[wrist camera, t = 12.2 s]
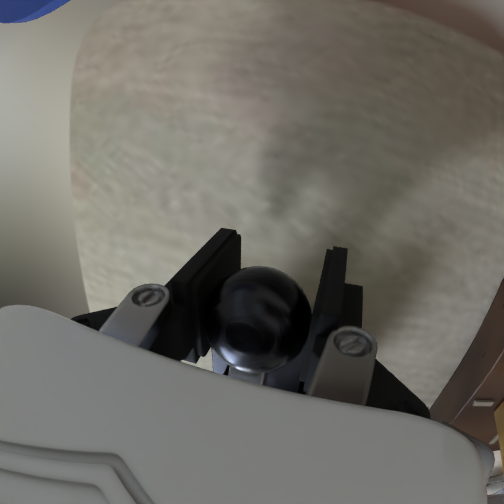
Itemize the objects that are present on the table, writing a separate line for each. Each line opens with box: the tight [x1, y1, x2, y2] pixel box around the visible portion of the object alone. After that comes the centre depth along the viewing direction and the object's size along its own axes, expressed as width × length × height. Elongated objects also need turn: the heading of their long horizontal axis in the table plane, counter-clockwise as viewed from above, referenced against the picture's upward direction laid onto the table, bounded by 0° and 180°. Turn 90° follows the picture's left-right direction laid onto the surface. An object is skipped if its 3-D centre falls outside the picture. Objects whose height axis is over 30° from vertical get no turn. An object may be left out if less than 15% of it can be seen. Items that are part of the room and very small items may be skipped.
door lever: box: [204, 266, 312, 386], centre depth 10 cm, size 13×3×3 cm, turn 179°
